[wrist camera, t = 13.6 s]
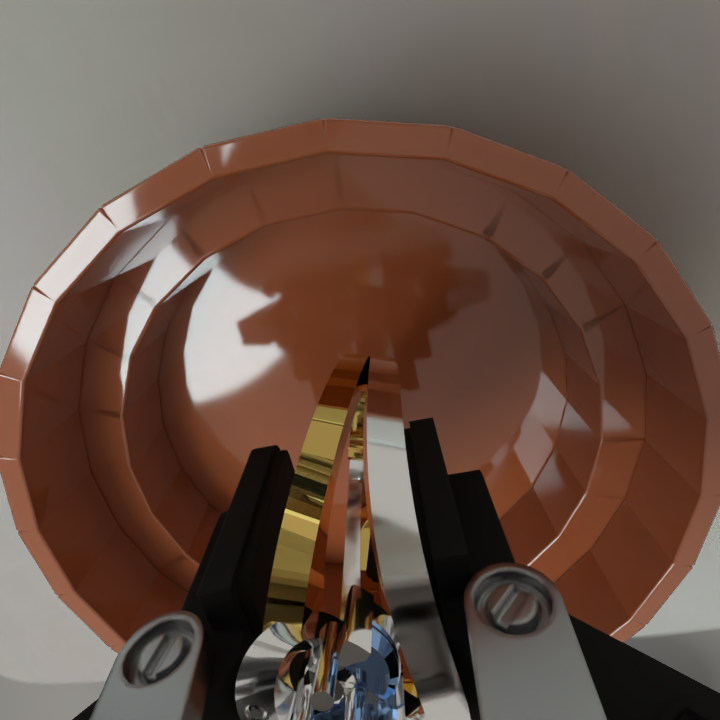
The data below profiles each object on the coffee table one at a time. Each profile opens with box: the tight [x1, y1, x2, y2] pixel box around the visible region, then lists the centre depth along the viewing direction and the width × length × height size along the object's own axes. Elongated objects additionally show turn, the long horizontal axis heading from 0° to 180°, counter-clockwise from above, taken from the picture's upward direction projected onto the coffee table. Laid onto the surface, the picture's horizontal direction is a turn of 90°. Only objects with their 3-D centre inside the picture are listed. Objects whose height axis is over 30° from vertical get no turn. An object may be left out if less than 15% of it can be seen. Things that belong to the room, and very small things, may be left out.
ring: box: [235, 353, 471, 720], centre depth 9 cm, size 7×3×8 cm, turn 175°
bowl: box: [0, 118, 720, 681], centre depth 12 cm, size 15×15×5 cm
